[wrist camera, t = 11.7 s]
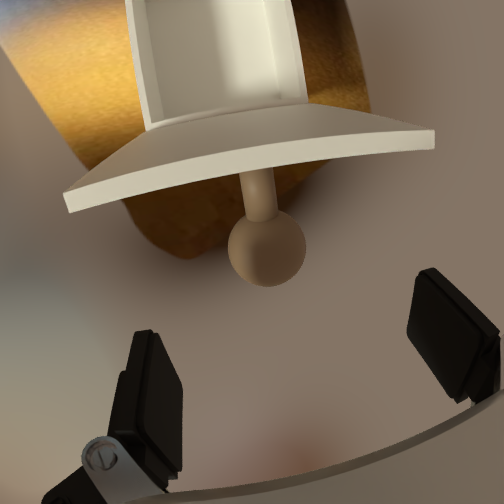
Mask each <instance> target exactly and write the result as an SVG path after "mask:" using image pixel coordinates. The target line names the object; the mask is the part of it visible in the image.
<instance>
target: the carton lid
mask: <svg viewBox="0 0 504 504" xmlns="http://www.w3.org/2000/svg"><path fill="white" fill-rule="evenodd" d="M434 132H435V131H434V130H432V129H429V128H425V127H422V126H418V125H415V124H411V123H407V122H403V121H399V120H395V119H391V118H387V117H383V116H378V115H374V114H369V113H364V112H360V111H354V110H349V109H344V108H338V107H332V106H326V105H320V104H313V103H308V104H297V105H288V106H279V107H271V108H264V109H256V110H250V111H243V112H237V113H231V114H225V115H220V116H214V117H209V118H204V119H199V120H194V121H190V122H185V123H180V124H176V125H172V126H168V127H163V128H159V129H155V130H151V131H148V132H144V133H142V134H141V135H139V136H138V137H136V138H135V139H133V140H132V141H130V142H129V143H128V144H126V145H125V146H123V147H122V148H120V149H119V150H118V151H116V152H115V153H113V154H112V155H111V156H109V157H108V158H107V159H105V160H104V161H103V162H101V163H100V164H99V165H97V166H96V167H95V168H93V169H92V170H91V171H90V172H88V173H87V174H86V175H84V176H83V177H82V178H81V179H80V180H79V181H77V182H76V183H75V184H73V185H72V186H71V187H70V188H68V189H67V190H66V191H65V192H64V193H63V195H64V199H65V201H66V204H67V207H68V210H69V213H72V212H75V211H79V210H82V209H85V208H89V207H93V206H96V205H100V204H103V203H107V202H111V201H114V200H118V199H122V198H126V197H130V196H134V195H138V194H142V193H146V192H150V191H154V190H158V189H163V188H167V187H171V186H176V185H180V184H185V183H190V182H194V181H199V180H204V179H209V178H214V177H219V176H224V175H229V174H234V173H239V175H240V181H241V187H242V193H243V199H244V205H245V211H246V215H245V216H244V217H242V218H241V219H240V220H239V221H238V222H237V223H236V225H235V226H234V228H233V230H232V232H231V234H230V237H229V243H228V253H229V258H230V261H231V264H232V266H233V267H234V269H235V270H236V272H237V273H238V274H239V275H240V276H241V277H242V278H243V279H245V280H246V281H248V282H250V283H252V284H254V285H258V286H263V287H271V286H277V285H280V284H282V283H284V282H286V281H288V280H289V279H291V278H292V277H293V276H294V275H295V274H296V273H297V272H298V271H299V269H300V268H301V266H302V264H303V261H304V258H305V253H306V242H305V237H304V234H303V232H302V230H301V228H300V226H299V225H298V223H297V222H296V221H295V220H294V219H293V218H292V217H290V216H289V215H287V214H286V213H284V212H281V211H279V210H278V207H277V199H276V191H275V183H274V175H273V168H272V167H275V166H281V165H287V164H294V163H301V162H308V161H315V160H322V159H330V158H338V157H346V156H354V155H365V154H374V153H384V152H396V151H410V150H423V149H434V142H435V141H434V139H435V135H434Z"/></svg>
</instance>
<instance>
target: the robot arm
mask: <svg viewBox="0 0 504 504" xmlns="http://www.w3.org/2000/svg"><path fill="white" fill-rule="evenodd" d="M499 332H500V331H499V329H498V328H496V326H495V325H494V324H493V323H492V322H491V321H490V320H489V319H488V318H487V317H486V316H485V315H484V314H483V313H482V312H481V311H480V310H479V309H478V308H477V307H476V306H475V305H474V304H473V303H472V302H471V301H470V300H469V299H468V298H467V297H466V296H465V295H464V294H463V293H462V292H461V291H459V290H458V289H457V288H456V287H455V286H454V285H453V284H452V283H451V282H450V281H449V280H447V278H445V277H444V276H443V275H442V274H441V273H440V272H439V271H438V270H437V269H435V268H429V269H425V270H422V271H420V272H419V274H418V276H417V277H416V279H415V285H414V292H413V298H412V304H411V309H410V315H409V320H408V325H407V336H408V338H409V340H410V341H411V342H412V344H413V345H414V347H415V348H416V349H417V351H418V352H419V354H420V355H421V356H422V358H423V359H424V361H425V362H426V363H427V365H428V366H429V368H430V369H431V371H432V372H433V374H434V375H435V377H436V378H437V380H438V381H439V383H440V384H441V385H442V387H443V389H444V390H445V392H446V393H447V395H448V396H449V397H450V398H453V399H454V400H455V402H456V403H457V404H458V403H460V402H462V401H463V400H465V399H467V398H468V397H469V398H470V399H471V407H470V408H469V409H467V410H465V411H464V412H462V413H460V414H458V415H457V416H454V417H453V418H451V419H449V420H447V421H445V422H443V423H441V424H439V425H437V426H434V427H432V428H431V429H428V430H426V431H424V432H422V433H419V434H417V435H415V436H413V437H410V438H408V439H406V440H403V441H401V442H399V443H396V444H394V445H391V446H389V447H386V448H383V449H381V450H378V451H375V452H372V453H370V454H367V455H364V456H361V457H358V458H355V459H352V460H349V461H346V462H342V463H339V464H336V465H332V466H329V467H326V468H321V469H318V470H314V471H310V472H306V473H302V474H298V475H293V476H289V477H285V478H279V479H274V480H269V481H263V482H257V483H251V484H245V485H239V486H231V487H223V488H214V489H205V490H193V491H184V492H174V493H170V492H169V490H168V489H167V486H168V480H174V479H178V472H179V471H180V472H181V471H182V409H183V388H182V384H181V381H180V379H179V377H178V375H177V373H176V371H175V369H174V367H173V364H172V363H171V360H170V358H169V356H168V354H167V351H166V349H165V347H164V345H163V343H162V340H161V338H160V336H159V334H158V333H153V331H152V330H150V329H149V330H143V331H136V332H135V333H134V336H133V340H132V344H131V349H130V353H129V357H128V362H127V366H126V370H125V371H122V372H121V373H120V375H119V378H118V383H117V387H116V392H115V397H114V402H113V406H112V411H111V417H110V422H109V427H108V433H107V436H101V437H97V438H95V439H93V440H91V441H90V442H89V443H88V444H86V446H85V448H84V449H83V452H82V455H81V459H82V464H83V466H81V467H80V468H79V469H77V470H76V471H75V472H74V473H72V474H71V475H70V476H68V477H67V478H66V479H64V480H63V481H62V482H61V483H59V484H58V485H56V486H55V487H54V488H52V489H51V490H50V491H49V492H47V493H46V494H45V495H44V497H43V499H42V502H41V504H504V335H503V336H502V337H501V338H500V337H499V335H498V334H499Z"/></svg>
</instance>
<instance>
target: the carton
mask: <svg viewBox="0 0 504 504" xmlns="http://www.w3.org/2000/svg"><path fill="white" fill-rule="evenodd" d="M125 5H126V13H127V22H128V29H129V36H130V43H131V50H132V57H133V63H134V69H135V75H136V81H137V87H138V92H139V98H140V103H141V108H142V113H143V119H144V124H145V128H146V132H148V131H151V130H155V129H159V128H163V127H167V126H172V125H176V124H180V123H185V122H189V121H194V120H199V119H204V118H209V117H214V116H220V115H225V114H231V113H237V112H243V111H250V110H256V109H264V108H271V107H279V106H288V105H297V104H308V96H307V89H306V82H305V76H304V69H303V63H302V57H301V51H300V46H299V40H298V35H297V29H296V24H295V19H294V14H293V9H292V4H291V0H125Z"/></svg>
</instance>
